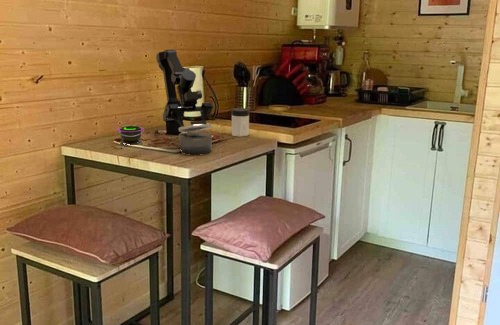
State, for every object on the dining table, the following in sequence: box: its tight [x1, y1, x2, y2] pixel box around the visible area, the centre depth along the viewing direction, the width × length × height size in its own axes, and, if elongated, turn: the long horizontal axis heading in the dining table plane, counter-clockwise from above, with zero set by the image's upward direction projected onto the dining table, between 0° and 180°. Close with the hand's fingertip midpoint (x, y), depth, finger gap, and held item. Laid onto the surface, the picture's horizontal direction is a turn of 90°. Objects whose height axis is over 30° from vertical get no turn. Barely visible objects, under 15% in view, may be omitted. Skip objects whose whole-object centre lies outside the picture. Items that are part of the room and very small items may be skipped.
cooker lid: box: [179, 119, 212, 133], centre depth 203 cm, size 13×13×3 cm
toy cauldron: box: [116, 119, 145, 147], centre depth 211 cm, size 15×15×11 cm
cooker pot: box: [178, 131, 213, 156], centre depth 204 cm, size 14×13×6 cm
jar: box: [231, 107, 250, 138], centre depth 234 cm, size 9×8×12 cm
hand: (194, 126), depth 203 cm, fingers open, 9 cm apart
